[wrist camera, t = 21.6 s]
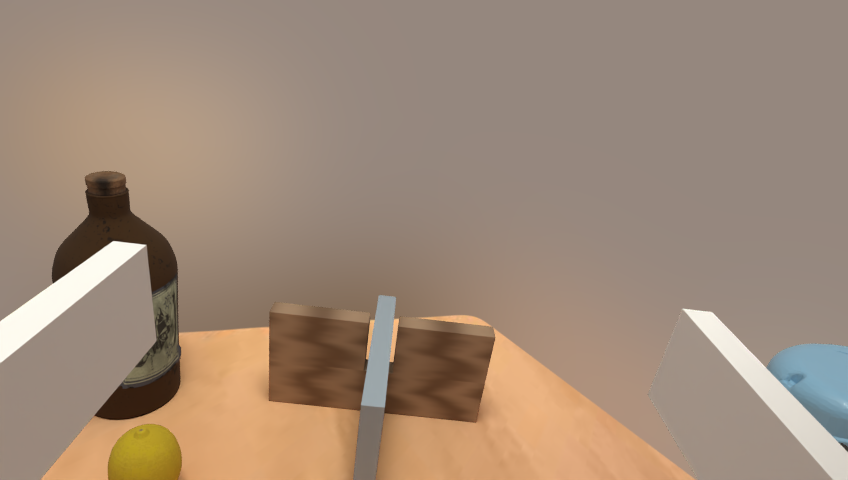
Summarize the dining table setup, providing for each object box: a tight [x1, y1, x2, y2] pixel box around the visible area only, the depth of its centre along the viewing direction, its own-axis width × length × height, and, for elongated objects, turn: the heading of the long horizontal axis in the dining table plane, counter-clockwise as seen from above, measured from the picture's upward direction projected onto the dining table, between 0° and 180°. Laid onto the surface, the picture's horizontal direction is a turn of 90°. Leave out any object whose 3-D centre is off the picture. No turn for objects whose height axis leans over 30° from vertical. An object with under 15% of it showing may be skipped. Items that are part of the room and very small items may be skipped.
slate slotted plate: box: [353, 295, 396, 480], centre depth 52 cm, size 18×2×12 cm, turn 0°
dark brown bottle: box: [52, 171, 181, 419], centre depth 51 cm, size 11×11×25 cm
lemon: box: [108, 424, 182, 480], centre depth 43 cm, size 6×6×8 cm
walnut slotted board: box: [269, 302, 495, 422], centre depth 56 cm, size 24×2×12 cm, turn 90°
